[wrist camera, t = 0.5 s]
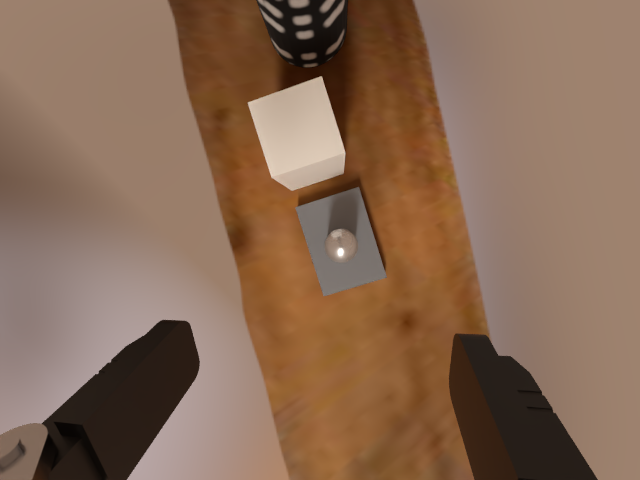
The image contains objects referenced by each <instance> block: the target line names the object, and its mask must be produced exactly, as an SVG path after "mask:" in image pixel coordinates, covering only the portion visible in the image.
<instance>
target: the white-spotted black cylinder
mask: <svg viewBox="0 0 640 480" xmlns="http://www.w3.org/2000/svg"><path fill="white" fill-rule="evenodd" d="M256 1H257V3H258V6H259V9H260V11H261V14H262V17H263V19H264V22H265V25H266V27H267V30H268V33H269V35H270V38H271V41H272V43H273V46H274V48H275V49H276V51H277V53H278V54H279V55H280V56H281V57H282V58H283V59H284V60H286V61H287V62H289V63H290V64H293V65H295V66H299V67H314V66H319V65H321V64H323V63H325V62H327V61H328V60H330V59H331V58H332V57H333V56H334V55H335V54H336V53H337V52H338V51H339V49H340V48H341V46H342V44H343V42H344V39H345V35H346V31H347V5H348V0H256Z"/></svg>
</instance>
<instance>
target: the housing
mask: <svg viewBox="0 0 640 480" xmlns="http://www.w3.org/2000/svg"><path fill="white" fill-rule="evenodd" d="M248 105H249V109H250V112H251V115H252V118H253V121H254V124H255V127H256V130H257V133H258V137H259V140H260V143H261V146H262V149H263V152H264V155H265V158H266V161H267V165H268V168H269V171H270V174H271V177H272V178H273V179H275V180H276V181H278V182H279V183H281V184H282V185H284V186H285V187H287V188H288V189H290V190H291V191H293V190H296V189H299V188H302V187H305V186H308V185H311V184H314V183H317V182H320V181H323V180H326V179H329V178H332V177H335V176H338V175H342V174H344V164H345V149H344V146H343V143H342V140H341V136H340V133H339V130H338V127H337V124H336V120H335V117H334V114H333V111H332V107H331V104H330V101H329V98H328V95H327V91H326V88H325V85H324V82H323V78H322V76H320V77H318V78H315V79H312V80H309V81H306V82H304V83H301V84H298V85H295V86H293V87H290V88H287V89H284V90H281V91H279V92H276V93H273V94H270V95H268V96H265V97H262V98H259V99H256V100H254V101H251V102H248Z"/></svg>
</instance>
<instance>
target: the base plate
mask: <svg viewBox="0 0 640 480" xmlns="http://www.w3.org/2000/svg"><path fill="white" fill-rule="evenodd" d="M296 211H297V214H298V217H299V220H300V223H301V226H302V229H303V233H304V236H305V239H306V242H307V245H308V248H309V251H310V254H311V258H312V261H313V264H314V267H315V270H316V273H317V276H318V280H319V283H320V286H321V289H322V292H323V295H324V296H326V295H330V294H333V293H336V292H340V291H343V290H347V289H350V288H353V287H357V286H360V285H363V284H367V283H370V282H373V281H377V280H380V279H383V278H387V276H386V273H385V270H384V267H383V264H382V260H381V257H380V254H379V251H378V247H377V244H376V241H375V238H374V235H373V231H372V228H371V225H370V222H369V218H368V215H367V212H366V209H365V205H364V202H363V199H362V196H361V193H360V189H359V187H357V188H354V189H351V190H347V191H344V192H341V193H338V194H335V195H332V196H329V197H326V198H323V199H320V200H317V201H314V202H311V203H307V204H304V205H301V206H298V207H296Z"/></svg>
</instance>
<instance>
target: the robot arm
mask: <svg viewBox="0 0 640 480" xmlns="http://www.w3.org/2000/svg"><path fill="white" fill-rule="evenodd" d="M199 363H200V361H199V356H198V352H197V349H196V345H195V341H194V337H193V333H192V329H191V326H190V324H189V323H188V322H187V321H176V320H162V321H160V322H159V323H157V324H156V325H155V326H154V327H153V328H152V329H151V330H150V331H149V332H148V333H147V334H146V335H144V336H142V337H141V338H139V339H138V340H136V341H134V342H132V343H131V344H129V345H128V346H126V347H125V348H124V349H123V350H122V351H120V353H119V354H117V355H116V356H115V357H114V358H113V359H112V360H111V363H107V364H106V365H105V366H104V367H103V368H102V369H101V370H100V371H99V374H95V375H94V376H93V377H92V378H91V379H90V380H89V381H88V382H87V383H86V384H85V385H83V386H82V387H81V388H80V389H79V390H78V391H77V392H76V393H75V394H74V395H73V396H71V398H69V399H68V400H67V401H66V402H65V403H64V404H63V405H62V406H61V407H60V408H58V409H57V410H56V411H55V412H54V413H53V414H52V415H51V416H50V417H49V418H47V419H46V420H45V421H44V422H43V423H42V424H37V423H33V424H27V425H23V426H20V427H17V428H14V429H12V430H9V431H7V432H5V433H3V434H2V435H0V480H127V478H128V477H129V475H130V474H131V472H132V471H133V470H134V468H135V467H136V465H137V464H138V462H139V461H140V459H141V458H142V456H143V455H144V453H145V452H146V450H147V449H148V448H149V446H150V445H151V443H152V442H153V440H154V439H155V437H156V436H157V434H158V433H159V431H160V430H161V429H162V427H163V425H164V424H165V423H166V421H167V420H168V418H169V417H170V415H171V414H172V412H173V411H174V409H175V408H176V406H177V405H178V404H179V402H180V401H181V399H182V398H183V396H184V395H185V393H186V392H187V390H188V389H189V387H190V386H191V385H192V383H193V382H194V380H195V378H196V376H197V374H198V371H199ZM449 388H450V396H451V400H452V404H453V407H454V411H455V414H456V418H457V421H458V425H459V428H460V431H461V435H462V438H463V442H464V445H465V449H466V452H467V455H468V459H469V462H470V466H471V469H472V473H473V476H474V479H475V480H598V479H597V478H596V476H595V475H594V473H593V471H592V470H591V468H590V467H589V465H588V464H587V462H586V461H585V459H584V457H583V456H582V454H581V453H580V451H579V450H578V448H577V446H576V445H575V443H574V442H573V440H572V439H571V437H570V436H569V434H568V433H567V431H566V429H565V427H564V426H563V424H562V423H561V421H560V420H559V418H558V416H557V415H556V413H553V410H552V407H551V406H550V404H549V402H548V401H547V399H546V398H545V396H543V395H542V391H541V390H540V388H539V387H538V385H537V383H536V382H535V380H534V379H533V377H532V376H531V374H530V373H529V372H528V371H527V370H526V369H525V368H524V367H522V366H521V365H520V364H519V363H518V362H517V361H515V360H514V359H513V358H512V357H511V356H498V354H497V352H496V351H495V349H494V347H493V345H492V343H491V341H490V340H489V338H488V337H487V336H486V335H478V334H455V335H454V339H453V347H452V356H451V364H450V373H449Z"/></svg>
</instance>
